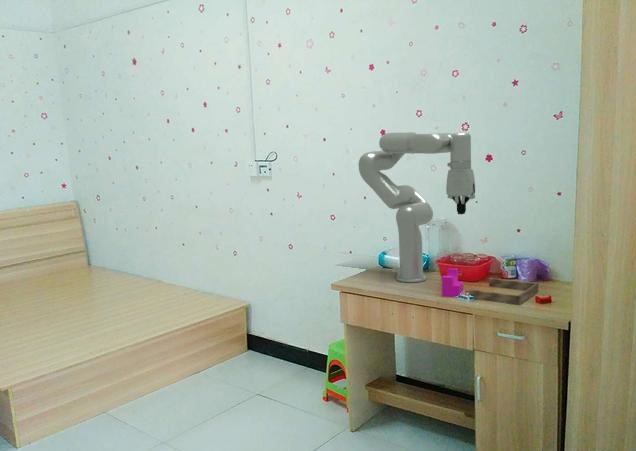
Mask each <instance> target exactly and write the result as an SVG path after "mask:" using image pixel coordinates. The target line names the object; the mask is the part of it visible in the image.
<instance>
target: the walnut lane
mask: <svg viewBox="0 0 636 451" xmlns="http://www.w3.org/2000/svg"><path fill="white" fill-rule="evenodd" d="M492 286H493V287H494V288H501V289H502V288H503V289H511V290H520V291H523V292H521V293H520V294H519V295H517V294H509V293H501V292H495V291H486V290H479V289H471V288H470V289H469V290H468V296H469V295H471V296H474V297H475V298H476V299H475V300H482V301H487V302H488V301H489V302H494V303H504V304H511V305H515V306H516V305H517V306H521V305H522V304H524V303H525V302H527V301H528V300H529V299H531V298H532V297H533V296H534V295H535V294H537V293H538V292H539V283H537V282H528V281H520V280H519V281H518V280H509V279H501V278H494V277H493V278H492V277H489V278H488V287H492Z"/></svg>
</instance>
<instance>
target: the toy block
mask: <svg viewBox="0 0 636 451" xmlns="http://www.w3.org/2000/svg"><path fill="white" fill-rule="evenodd" d="M446 270H447V272H446V273H447V275H442V276H441V293H442V294H441V296H442V297H445V298H446V297H447V298H455V297H454V296H458V295H460V293H461V292H462V293H463V291H464V281H459V269H458V268H450V267H449V268H447V269H446ZM462 290H463V291H462ZM462 293H461V294H462ZM460 296H461V295H460Z"/></svg>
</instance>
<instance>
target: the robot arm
mask: <svg viewBox="0 0 636 451" xmlns="http://www.w3.org/2000/svg"><path fill="white" fill-rule="evenodd" d="M378 143H379V144H378V145H379V148H380V149H381V150H376V151H375V150H374V151H369V152H364V153H363V154H362V155H361V156H360V158H359V160H358V172H359V174H360V176H361V178H362V180H363V181H364V182H365V183H366V184H367V186H368V187H370V188H371V189H372V190H373V191H374V192H375V195H377V196H378V197H379V199H380V200H381V201H382V202H383V203H384V204H385V205H386V207H388V208H389V209H391V210H396V209H397V211H396V214H395V221H396V225H397V231H398V232H397V233H398V249H399V254H398V256H399V267H395V266H393V268H392V273H394V274H397V275H396V278H395V279H396V280H397V281H399V282H402V283H420V282H424V281H426V280H427V278H428V277H427V275H426V274H424V268H423V266H424V265H423V236H422V231H421V229H420V227H419V226H424V225H427V224H429V223H430V222H431V221H432V219H433V217H434V211H433V209H432V207H431V205H430V204H429V202H427V200H426V199H425V197H423V196H422V195H421V194H420V193H419V192H418V191H417V190H416V189H415V188H414V187H412V186H411V185H408V184H404V185H397V184H396V183H394V182H393V181H392V180H391V178H390V177H388V175H386V174H385V173H383V172H381V171H388V170H390V169H392V168H394V166H395V165H396V164H397V163H398V162H399V161H400V160H401V159H402V158H403V156H405V155H406V154H411V155H414V154H430V155H431V154H432V155H433V154H443V153H444V154H447V153H449V154H450V156H449V157H450V161H449V162H447V167H449V169H448V170H447V177H446V187H445V191H446V195H447V199H450V200H453V201H454V203H455V204H456V212H457V215H464V214H466V212H467V203H468V201H470V200H473V199H476V179H475V174H474V169H473V168H472V136H471V134H470V133H469V132H456V133H449V132H439V133H436V132H435V133H416V132H388V133H385V134H383V135H381V137H380V138H379V142H378Z"/></svg>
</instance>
